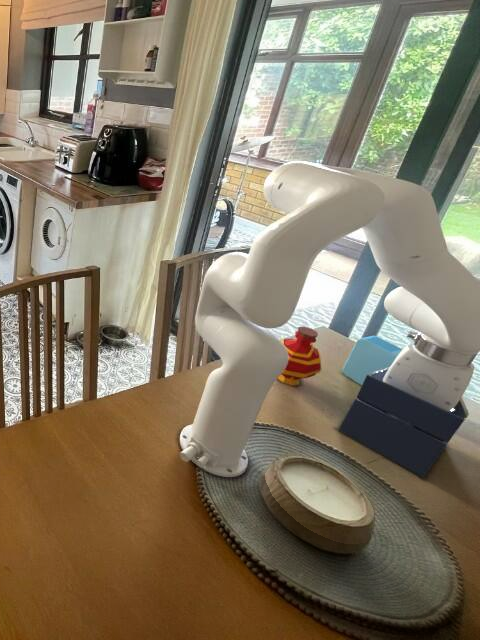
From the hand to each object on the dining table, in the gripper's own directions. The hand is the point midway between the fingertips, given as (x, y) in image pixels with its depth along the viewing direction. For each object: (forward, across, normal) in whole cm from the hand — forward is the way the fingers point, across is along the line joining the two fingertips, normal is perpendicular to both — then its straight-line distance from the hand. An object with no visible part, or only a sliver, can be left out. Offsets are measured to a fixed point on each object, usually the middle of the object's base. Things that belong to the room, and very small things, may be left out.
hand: (401, 418), depth 86 cm
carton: (+7, 0, +2) cm, 8 cm away
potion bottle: (+7, -21, +4) cm, 23 cm away
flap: (-7, 0, -6) cm, 9 cm away
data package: (+7, -8, +19) cm, 22 cm away
